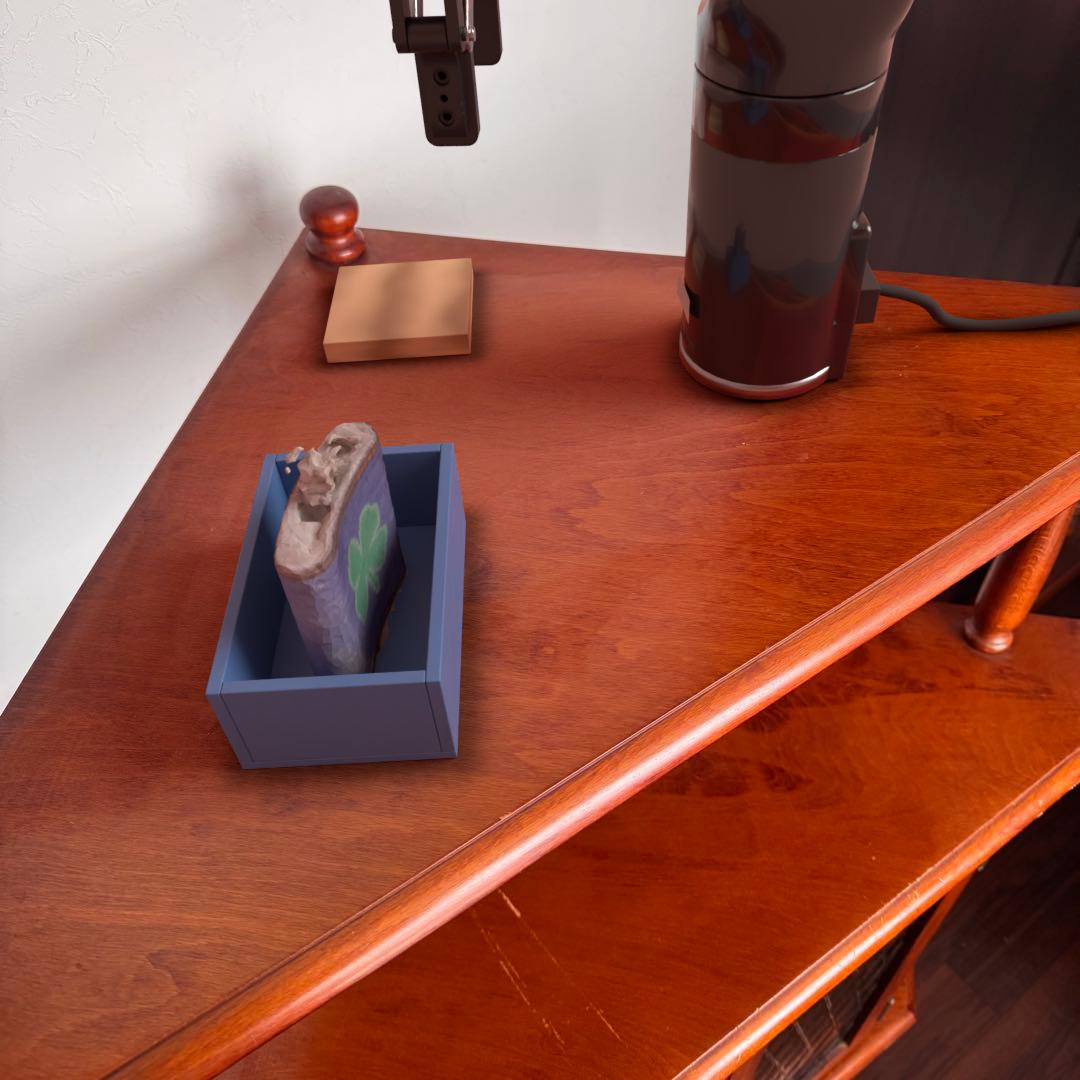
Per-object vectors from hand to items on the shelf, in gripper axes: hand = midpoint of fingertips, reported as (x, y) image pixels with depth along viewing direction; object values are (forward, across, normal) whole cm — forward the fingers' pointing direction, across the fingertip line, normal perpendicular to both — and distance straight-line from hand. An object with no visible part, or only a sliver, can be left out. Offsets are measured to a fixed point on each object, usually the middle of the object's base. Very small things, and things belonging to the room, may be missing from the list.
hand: (467, 99), depth 45 cm
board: (+18, +11, +8) cm, 23 cm away
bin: (+18, -16, +5) cm, 25 cm away
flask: (+18, -16, +5) cm, 25 cm away
